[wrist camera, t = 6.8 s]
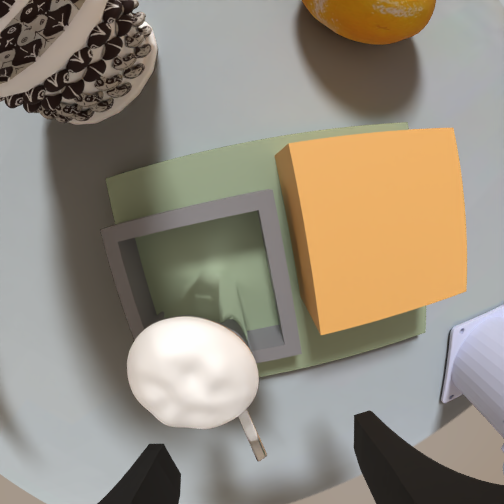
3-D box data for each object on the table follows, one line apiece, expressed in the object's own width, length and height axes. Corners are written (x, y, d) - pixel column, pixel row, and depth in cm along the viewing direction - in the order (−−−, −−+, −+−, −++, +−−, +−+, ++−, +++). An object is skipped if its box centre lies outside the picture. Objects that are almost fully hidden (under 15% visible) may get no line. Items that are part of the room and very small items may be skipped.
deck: (399, 124, 17) (455, 107, 11) (418, 326, 20) (464, 367, 14) (112, 178, 17) (59, 178, 11) (171, 381, 20) (153, 440, 14)
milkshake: (227, 353, 18) (219, 486, 9) (157, 300, 18) (85, 409, 8) (277, 301, 18) (314, 421, 8) (205, 241, 17) (159, 316, 7)
